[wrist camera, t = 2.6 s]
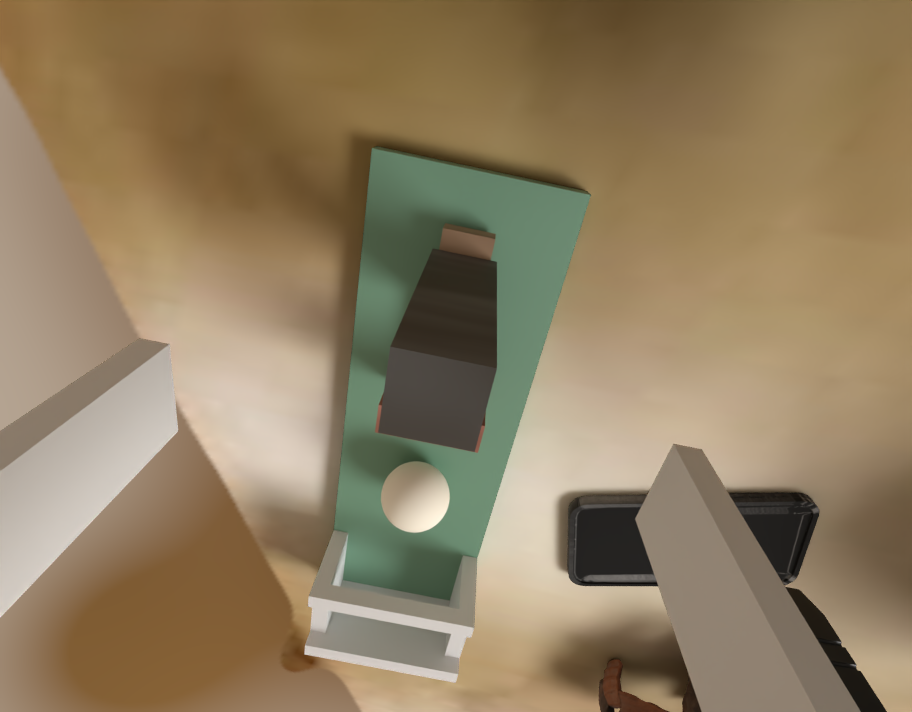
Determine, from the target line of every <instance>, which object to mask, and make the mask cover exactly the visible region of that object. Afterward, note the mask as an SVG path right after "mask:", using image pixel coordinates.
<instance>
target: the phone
mask: <svg viewBox="0 0 912 712" xmlns="http://www.w3.org/2000/svg"><path fill="white" fill-rule="evenodd" d="M729 495H730V497H731V498H732V500H733V502H734V503H735V505H736V507H737V508H738V510H739V512H740V513H741V515H742V517H743V518H744V520H745V522H746V523H747V525H748V527H749V528H750V530H751V531H752V533H753V535H754V536H755V538H756V540H757V541H758V543H759V545H760V546H761V548H762V550H763V551H764V553H765V555H766V556H767V558H768V560H769V561H770V563H771V564H772V566H773V568H774V569H775V571H776V573H777V574H778V576H779V578H780V579H781V581H782V583H783V584H784V585H787V584H789V583H791V582H793V581H794V580H795V579H796V578H797V576H798V574H799V571H800V568H801V565H802V562H803V560H804V557H805V554H806V551H807V548H808V545H809V542H810V539H811V537H812V534H813V531H814V528H815V525H816V522H817V519H818V517H819V509H818V507H817V505H816V504H815V503H814V502H813V500H812V499H811V498H810V497H809V496H808V495H806V494H803V493H737V494H729ZM646 497H647V495H602V496H581V497H579V498H576V499H575V500H573V501H572V502H571V504H570V505H569V509H568V552H567V567H568V574H569V578H570V580H571V581H572V582H573V583H575V584H577V585H581V586H658V584H657V581H656V578H655V575H654V572H653V569H652V566H651V563H650V560H649V558H648V555H647V552H646V549H645V546H644V543H643V540H642V537H641V534H640V531H639V529H638V526H637V523H636V520H635V518H636V516H637V514H638V512H639V510H640V508H641V507H642V505H643V503H644V501H645V499H646Z"/></svg>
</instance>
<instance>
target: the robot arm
mask: <svg viewBox="0 0 912 712" xmlns="http://www.w3.org/2000/svg"><path fill="white" fill-rule="evenodd" d="M177 425H178V424H177V415H176V404H175V394H174V384H173V374H172V364H171V354H170V344H166V343H161V342H156V341H151V340H146V339H141V338H139V339H137V340H136V341H134V342H133V343H131V344H130V345H128V346H127V347H125V348H124V349H122V350H121V351H119V352H118V353H116V354H115V355H113V356H112V357H111V358H109V359H107V360H106V361H104V362H103V363H101V364H100V365H98V366H97V367H95V368H94V369H92V370H91V371H89V372H88V373H86V374H85V375H83V376H82V377H80V378H79V379H77V380H76V381H74V382H73V383H71V384H70V385H68V386H67V387H65V388H64V389H62V390H61V391H60V392H58V393H57V394H55V395H53V396H52V397H50V398H49V399H47V400H46V401H44V402H43V403H42V404H40V405H38V406H37V407H36V408H34V409H32V410H31V411H29V412H28V413H26V414H25V415H23V416H22V417H21V418H19V419H18V420H16V421H14V422H13V423H11V424H10V425H8V426H7V427H6V428H4V429H2V430H1V431H0V617H1V616H2V615H3V614H4V613H5V612H6V611H7V610H8V609H9V608H10V607H11V606H12V605H13V604H14V603H15V601H16V600H17V599H18V598H19V597H20V596H21V595H22V594H23V593H24V592H25V591H26V590H27V589H28V588H29V587H30V586H31V585H32V584H33V583H34V582H35V580H37V578H38V577H39V576H40V575H41V574H42V573H43V572H44V571H45V570H46V569H47V568H48V567H49V566H50V565H51V564H52V563H53V562H54V561H55V560H56V558H58V556H59V555H60V554H61V553H62V552H63V551H64V550H65V549H66V548H67V547H68V546H69V545H70V544H71V543H72V542H73V541H74V540H75V539H76V538H77V537H78V535H79V534H80V533H81V532H82V531H83V530H84V529H85V528H86V527H87V526H88V525H89V524H90V523H91V522H92V521H93V520H94V519H95V518H96V517H97V515H99V514H100V512H101V511H102V510H103V509H104V508H105V507H106V506H107V505H108V504H109V503H110V502H111V501H112V500H113V499H114V498H115V497H116V496H117V495H118V494H119V493H120V491H121V490H122V489H123V488H124V487H125V486H126V485H127V484H128V483H129V482H130V481H131V480H132V479H133V478H134V477H135V476H136V474H138V473H139V472H140V471H141V469H142V468H143V467H144V466H145V465H146V464H147V463H148V462H149V461H150V460H151V459H152V458H153V457H154V456H155V455H156V454H157V453H158V452H159V451H160V449H162V447H163V446H164V445H165V444H166V443H167V442H168V441H169V440H170V439H171V438H172V437H173V436H174V435H175V434H176V433H177V432H178V426H177ZM635 520H636V523H637V526H638V529H639V531H640V534H641V537H642V540H643V543H644V546H645V549H646V552H647V555H648V558H649V560H650V563H651V566H652V569H653V572H654V575H655V578H656V581H657V584H658V587H659V589H660V592H661V595H662V598H663V601H664V604H665V607H666V610H667V613H668V616H669V618H670V621H671V624H672V627H673V630H674V633H675V636H676V639H677V642H678V644H679V647H680V650H681V653H682V656H683V659H684V662H685V665H686V668H687V671H688V673H689V676H690V679H691V682H692V685H693V688H694V691H695V694H696V697H697V700H698V702H699V705H700V708H701V711H702V712H887V711H886V710H885V708H884V707H883V705H882V704H881V702H880V700H879V699H878V697H877V696H876V694H875V693H874V691H873V690H872V688H871V687H870V685H869V684H868V682H867V680H866V679H865V677H864V676H863V674H862V673H861V671H858V670H857V669H856V663H855V662H854V660H853V659H852V657H851V656H850V654H849V653H848V651H847V650H846V648H844V647H842V646H841V643H842V642H841V640H840V639H839V637H838V636H837V634H836V633H835V631H834V630H833V628H832V627H831V625H830V623H829V622H828V620H827V619H826V617H825V616H824V614H823V613H822V612H821V611H820V610H819V609H818V608H817V607H816V606H815V605H814V604H813V603H812V602H811V601H810V600H809V599H808V598H807V597H806V596H805V595H804V594H803V593H802V592H801V591H800V590H798V589H793V588H788V587H785V586H784V584H783V583H782V581H781V579H780V578H779V576H778V574H777V573H776V571H775V569H774V568H773V566H772V564H771V563H770V561H769V560H768V558H767V556H766V555H765V553H764V551H763V550H762V548H761V546H760V545H759V543H758V541H757V540H756V538H755V536H754V535H753V533H752V531H751V530H750V528H749V527H748V525H747V523H746V522H745V520H744V518H743V517H742V515H741V513H740V512H739V510H738V508H737V507H736V505H735V503H734V502H733V500H732V498H731V497H730V495H729V494H728V492H727V490H726V489H725V487H724V485H723V484H722V482H721V480H720V479H719V477H718V475H717V474H716V472H715V470H714V469H713V467H712V466H711V464H710V462H709V461H708V459H707V457H706V456H705V454H704V452H703V451H702V449H697V448H692V447H687V446H682V445H677V444H673V446H672V448H671V450H670V452H669V453H668V455H667V457H666V459H665V461H664V463H663V465H662V467H661V469H660V471H659V473H658V475H657V477H656V479H655V481H654V483H653V485H652V487H651V489H650V491H649V493H648V495H647V497H646V499H645V501H644V503H643V505H642V507H641V508H640V510H639V512H638V514H637V516H636V518H635Z"/></svg>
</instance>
